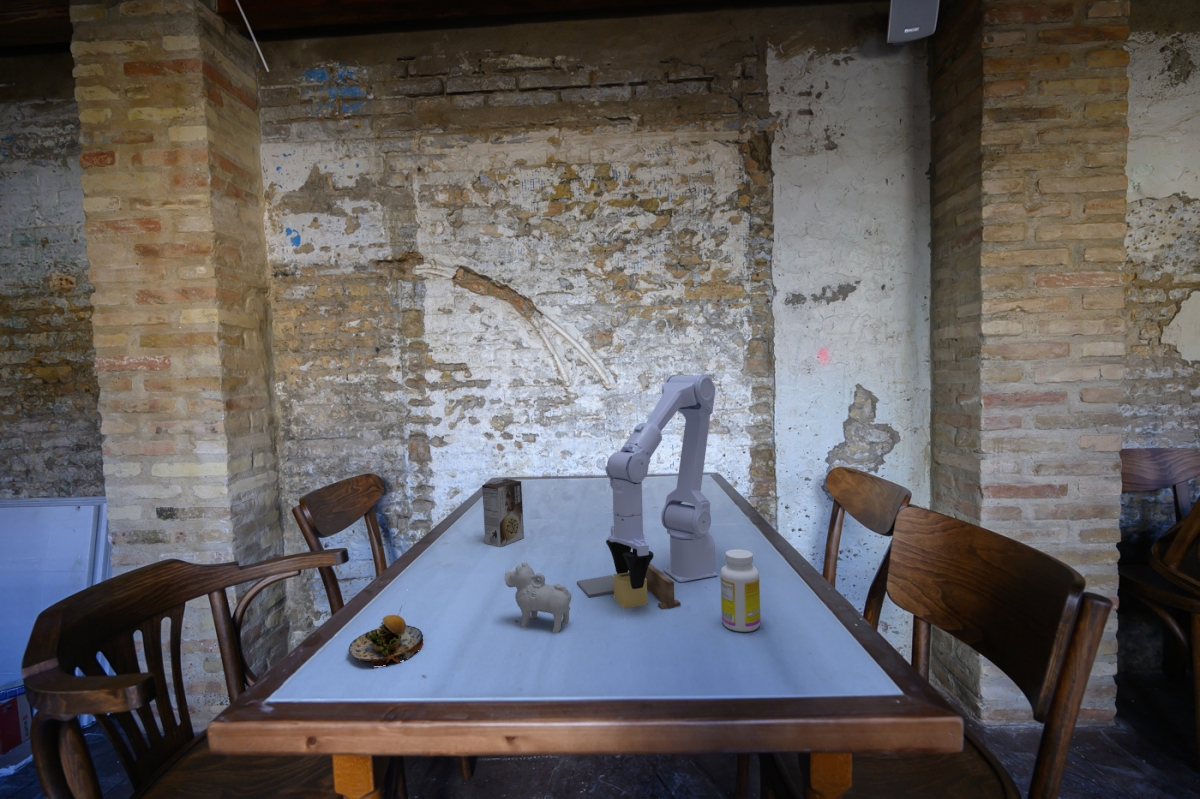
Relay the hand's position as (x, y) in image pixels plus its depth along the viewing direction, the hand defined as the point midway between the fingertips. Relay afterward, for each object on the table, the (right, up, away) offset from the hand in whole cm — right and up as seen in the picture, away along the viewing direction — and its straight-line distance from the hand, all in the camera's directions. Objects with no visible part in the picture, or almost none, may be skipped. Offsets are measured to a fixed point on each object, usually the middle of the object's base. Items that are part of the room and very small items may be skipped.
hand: (629, 581), depth 110 cm
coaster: (-6, -4, +8) cm, 10 cm away
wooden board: (+6, -4, +2) cm, 7 cm away
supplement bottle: (+19, -4, -11) cm, 22 cm away
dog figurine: (-17, -5, -8) cm, 20 cm away
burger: (-42, -7, -16) cm, 45 cm away
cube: (0, -4, 0) cm, 4 cm away
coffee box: (-32, -3, +42) cm, 53 cm away
